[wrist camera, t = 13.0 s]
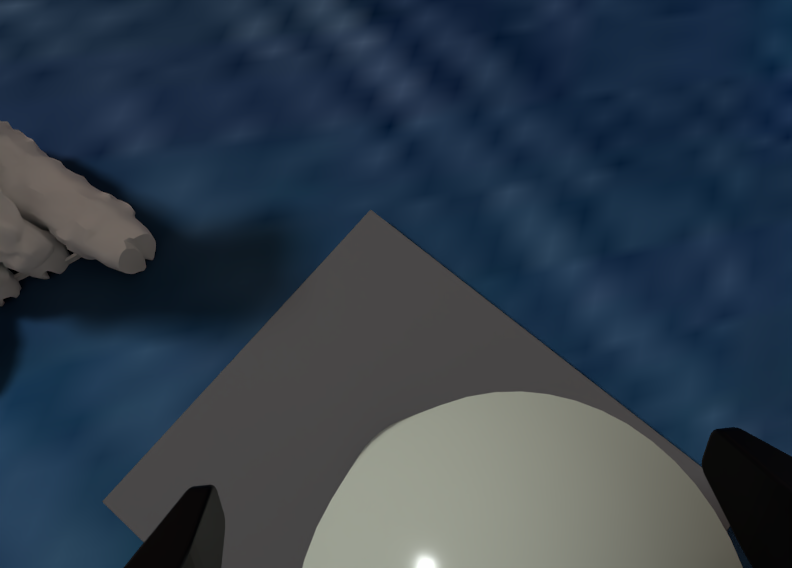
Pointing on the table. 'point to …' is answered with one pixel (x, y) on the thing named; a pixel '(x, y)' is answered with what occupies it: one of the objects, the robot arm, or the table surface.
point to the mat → (344, 395)
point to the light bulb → (517, 494)
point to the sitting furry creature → (59, 218)
